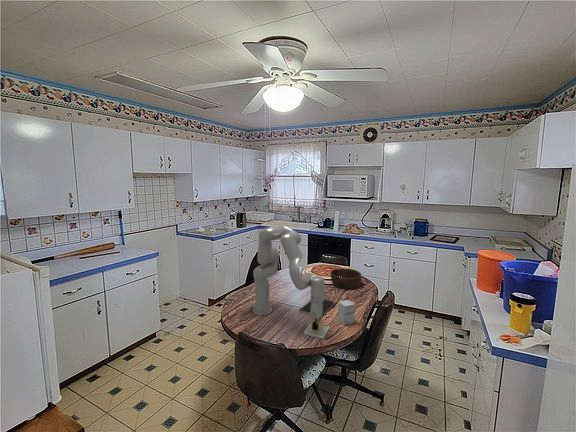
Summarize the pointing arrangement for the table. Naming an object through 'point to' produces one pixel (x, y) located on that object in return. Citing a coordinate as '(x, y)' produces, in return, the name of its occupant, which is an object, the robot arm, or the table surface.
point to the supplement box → (345, 312)
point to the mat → (316, 332)
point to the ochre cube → (318, 324)
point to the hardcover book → (326, 307)
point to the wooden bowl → (345, 278)
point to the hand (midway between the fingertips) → (316, 327)
